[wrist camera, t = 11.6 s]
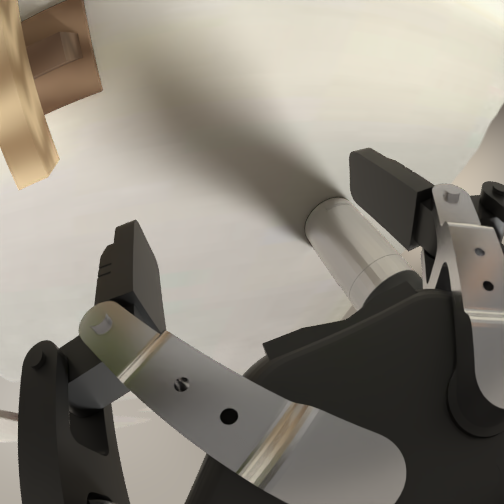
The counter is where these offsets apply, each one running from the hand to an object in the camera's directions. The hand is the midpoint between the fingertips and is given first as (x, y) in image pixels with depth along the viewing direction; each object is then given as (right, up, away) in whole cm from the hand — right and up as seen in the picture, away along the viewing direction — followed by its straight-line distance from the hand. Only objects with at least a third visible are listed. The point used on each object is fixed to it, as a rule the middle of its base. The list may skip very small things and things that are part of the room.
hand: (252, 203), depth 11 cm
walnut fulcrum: (-23, +19, +11) cm, 31 cm away
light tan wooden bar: (-20, +14, +6) cm, 25 cm away
